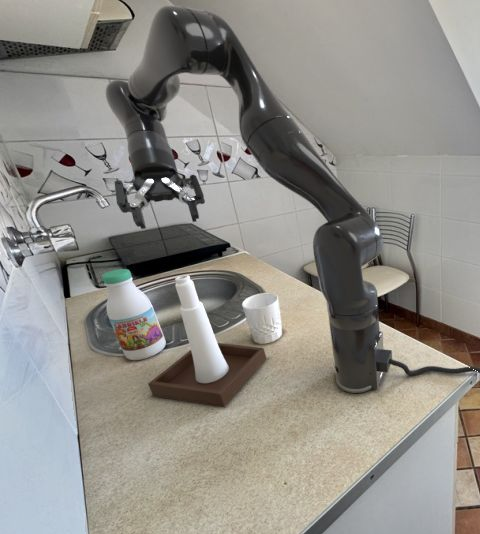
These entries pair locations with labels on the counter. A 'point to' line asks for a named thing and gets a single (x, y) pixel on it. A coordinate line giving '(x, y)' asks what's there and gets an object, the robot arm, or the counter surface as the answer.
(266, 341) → the white cup
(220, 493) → the counter surface
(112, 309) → the milk bottle
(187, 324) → the cosmetic bottle
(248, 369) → the tray
